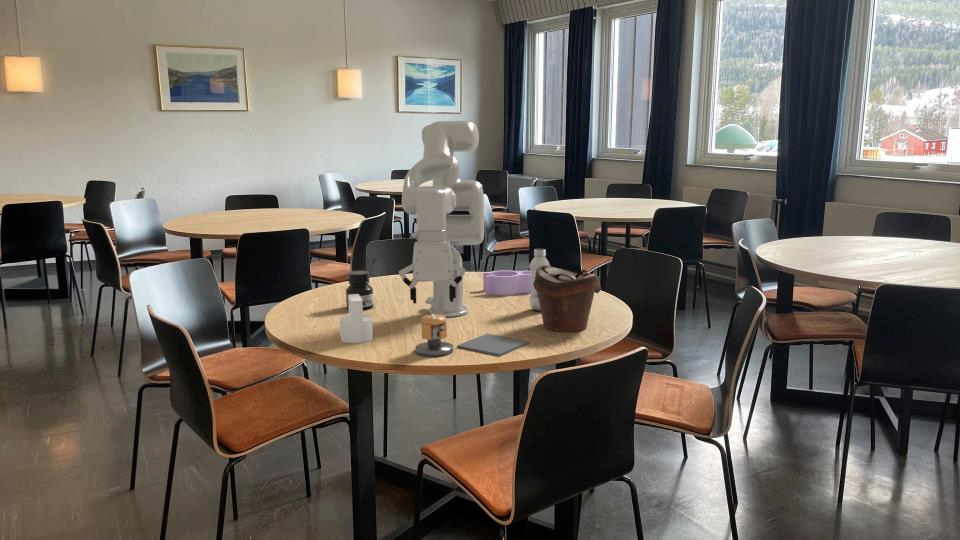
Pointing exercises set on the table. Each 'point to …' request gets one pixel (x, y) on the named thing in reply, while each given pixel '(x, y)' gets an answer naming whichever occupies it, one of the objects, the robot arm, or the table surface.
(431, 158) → the robot arm
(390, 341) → the table surface
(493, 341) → the mat
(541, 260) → the plastic bottle
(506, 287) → the clip
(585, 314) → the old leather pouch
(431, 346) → the grey post on disc
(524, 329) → the table surface
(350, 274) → the ink bottle
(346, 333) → the cylinder with rectangular tab
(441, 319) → the orange ellipsoid with prongs
